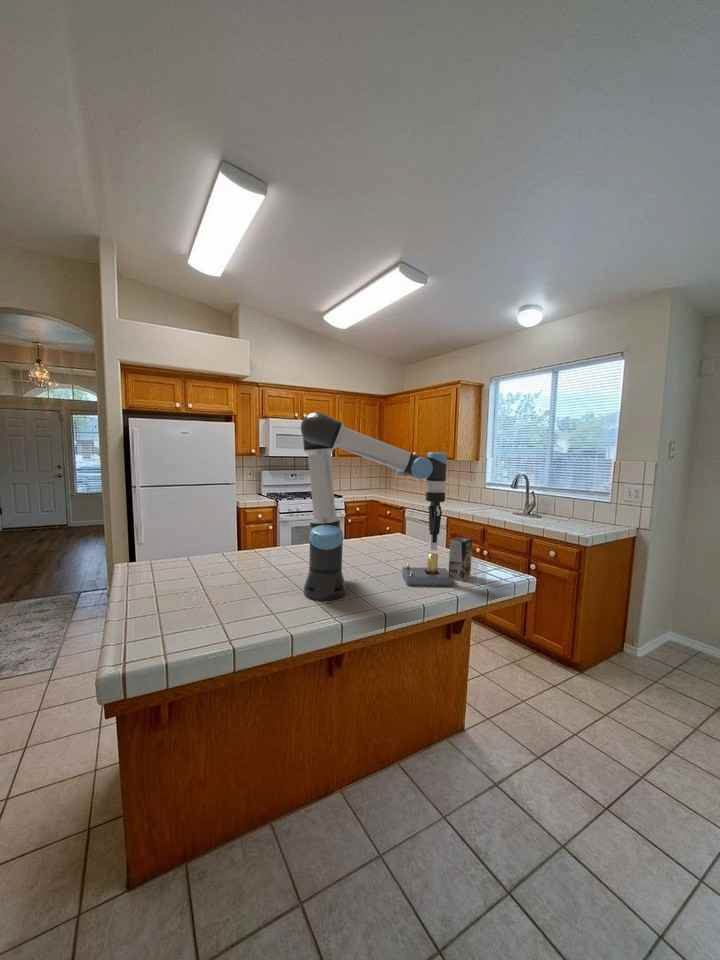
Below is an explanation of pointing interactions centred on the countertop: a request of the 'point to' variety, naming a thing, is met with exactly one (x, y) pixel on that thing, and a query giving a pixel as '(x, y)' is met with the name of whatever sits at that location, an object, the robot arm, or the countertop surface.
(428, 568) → the cylinder
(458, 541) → the coffee box
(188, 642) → the countertop surface
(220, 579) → the countertop surface
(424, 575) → the jig
